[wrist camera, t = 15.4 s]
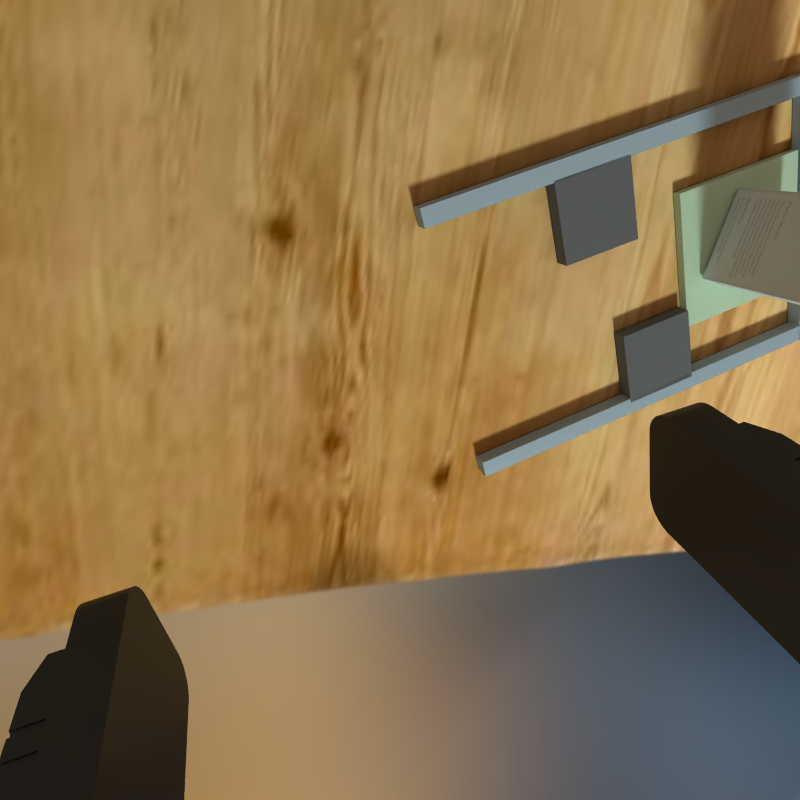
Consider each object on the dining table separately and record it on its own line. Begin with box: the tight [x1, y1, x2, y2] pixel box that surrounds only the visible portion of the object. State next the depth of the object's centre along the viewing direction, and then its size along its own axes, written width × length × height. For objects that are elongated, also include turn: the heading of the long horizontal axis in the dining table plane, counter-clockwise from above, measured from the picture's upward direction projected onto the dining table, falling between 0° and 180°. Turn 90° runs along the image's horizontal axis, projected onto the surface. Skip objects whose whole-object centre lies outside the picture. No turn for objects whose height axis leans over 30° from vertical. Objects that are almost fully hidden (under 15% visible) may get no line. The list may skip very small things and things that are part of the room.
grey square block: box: [546, 154, 638, 266], centre depth 37 cm, size 5×5×1 cm
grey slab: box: [614, 307, 692, 403], centre depth 43 cm, size 5×5×1 cm
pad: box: [673, 149, 798, 326], centre depth 42 cm, size 9×9×1 cm
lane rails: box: [414, 73, 800, 476], centre depth 40 cm, size 27×18×1 cm
